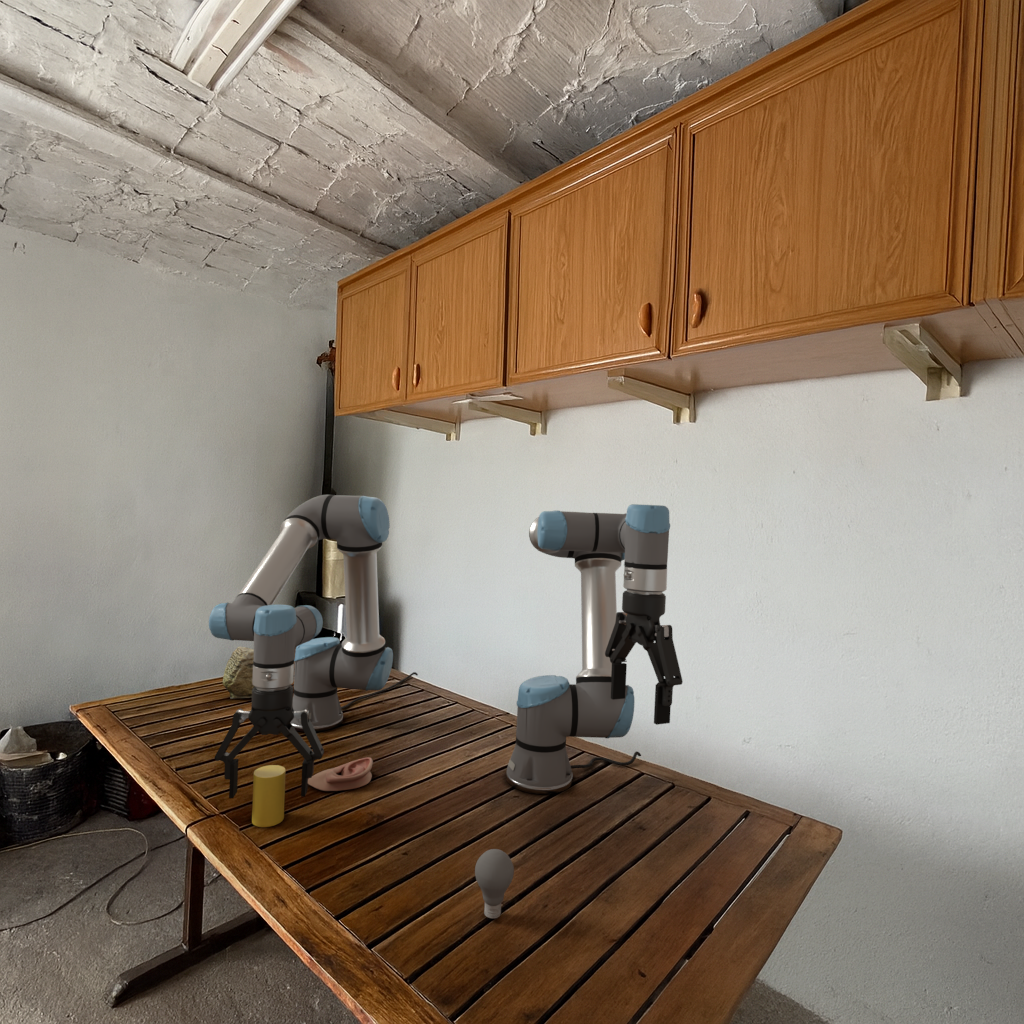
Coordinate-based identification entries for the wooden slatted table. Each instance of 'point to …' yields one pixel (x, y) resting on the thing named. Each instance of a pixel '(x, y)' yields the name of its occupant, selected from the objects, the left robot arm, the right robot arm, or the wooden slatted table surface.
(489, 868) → the light bulb
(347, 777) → the anatomical model
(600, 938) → the wooden slatted table surface
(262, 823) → the cylinder
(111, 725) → the wooden slatted table surface
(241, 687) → the fossil
